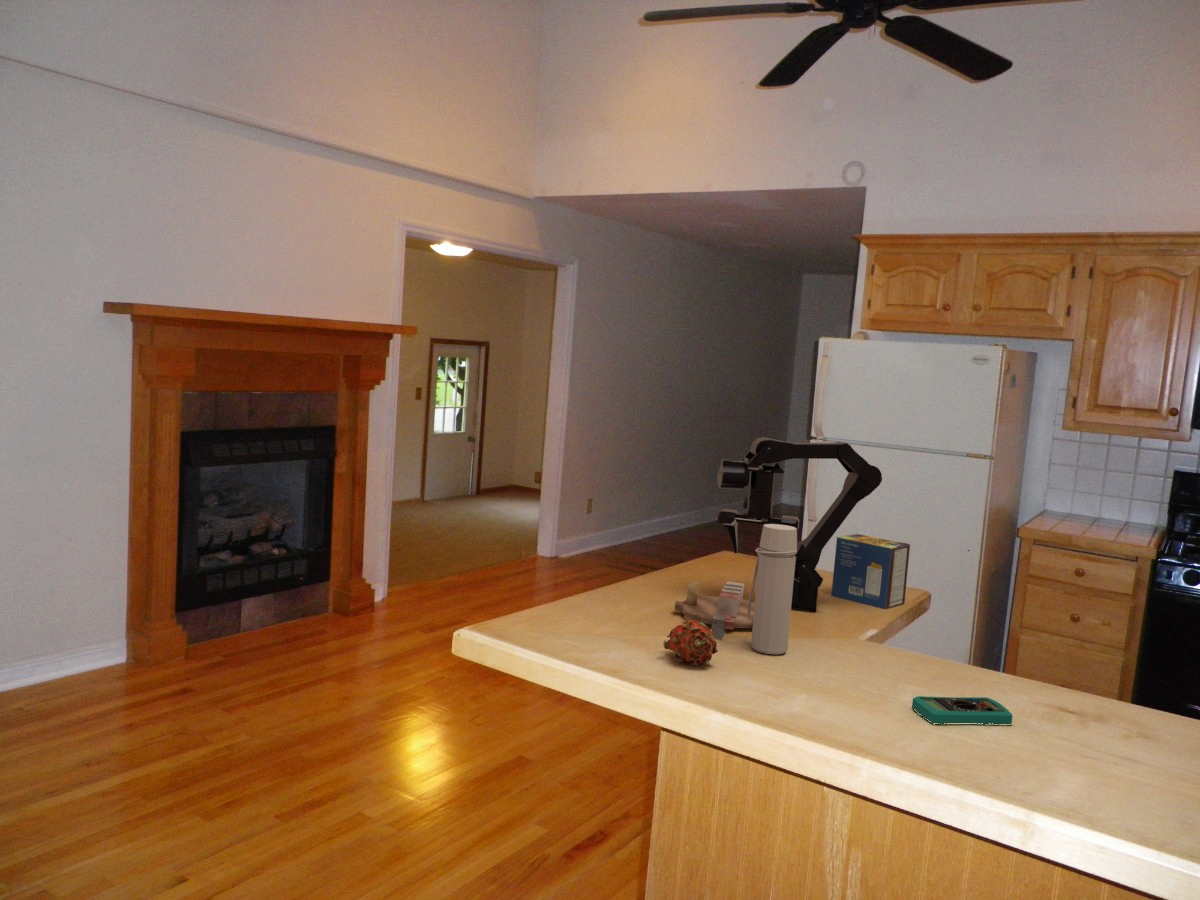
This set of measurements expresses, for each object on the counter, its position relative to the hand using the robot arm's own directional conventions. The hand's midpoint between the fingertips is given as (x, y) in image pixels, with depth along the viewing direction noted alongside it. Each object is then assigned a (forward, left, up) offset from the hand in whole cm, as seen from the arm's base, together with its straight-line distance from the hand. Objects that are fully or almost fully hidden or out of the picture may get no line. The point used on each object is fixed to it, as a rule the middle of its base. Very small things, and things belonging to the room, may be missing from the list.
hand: (755, 555), depth 215 cm
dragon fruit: (+7, +50, -12) cm, 52 cm away
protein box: (-28, -22, -12) cm, 37 cm away
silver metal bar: (+3, +16, -9) cm, 19 cm away
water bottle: (-6, +35, -12) cm, 38 cm away
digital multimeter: (-40, +57, -13) cm, 71 cm away
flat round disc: (+4, +16, -12) cm, 20 cm away
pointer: (+4, +30, -12) cm, 33 cm away
